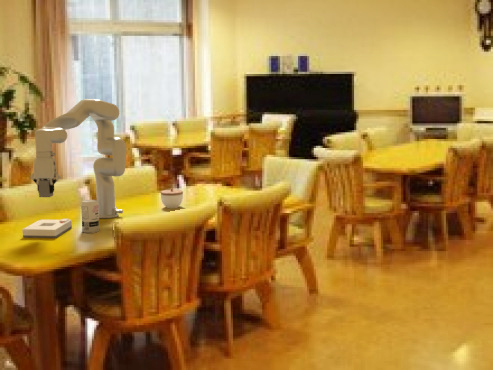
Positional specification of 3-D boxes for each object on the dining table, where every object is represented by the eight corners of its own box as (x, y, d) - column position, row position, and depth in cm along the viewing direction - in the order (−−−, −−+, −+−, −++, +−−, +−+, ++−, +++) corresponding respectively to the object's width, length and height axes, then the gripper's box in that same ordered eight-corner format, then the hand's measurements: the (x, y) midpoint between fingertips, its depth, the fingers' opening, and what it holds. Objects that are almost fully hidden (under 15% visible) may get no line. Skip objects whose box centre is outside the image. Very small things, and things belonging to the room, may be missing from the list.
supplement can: (83, 229, 355) (82, 199, 353) (100, 229, 356) (99, 199, 353) (81, 233, 347) (79, 202, 345) (98, 233, 348) (97, 202, 345)
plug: (53, 195, 349) (52, 174, 348) (49, 197, 344) (48, 175, 343) (43, 195, 350) (42, 174, 348) (39, 197, 345) (38, 175, 343)
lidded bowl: (182, 209, 405) (181, 189, 403) (159, 209, 405) (159, 189, 404) (184, 205, 418) (183, 186, 416) (162, 205, 418) (162, 186, 416)
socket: (71, 227, 360) (71, 218, 359) (55, 238, 338) (55, 228, 337) (40, 227, 361) (40, 217, 360) (22, 237, 340) (22, 227, 339)
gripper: (64, 154, 347) (66, 191, 350) (30, 154, 348) (32, 191, 351) (58, 156, 339) (60, 194, 342) (23, 155, 341) (25, 193, 344)
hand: (46, 192), depth 347 cm, fingers closed on plug, 5 cm apart
